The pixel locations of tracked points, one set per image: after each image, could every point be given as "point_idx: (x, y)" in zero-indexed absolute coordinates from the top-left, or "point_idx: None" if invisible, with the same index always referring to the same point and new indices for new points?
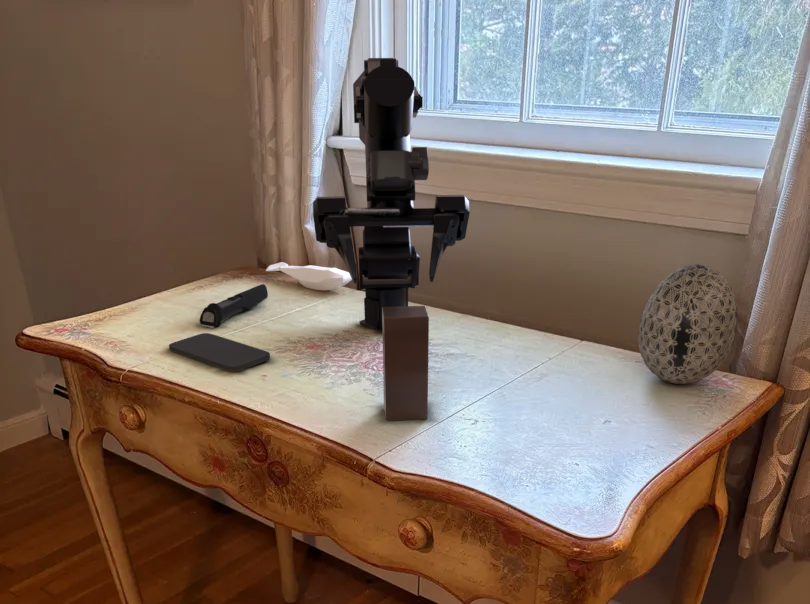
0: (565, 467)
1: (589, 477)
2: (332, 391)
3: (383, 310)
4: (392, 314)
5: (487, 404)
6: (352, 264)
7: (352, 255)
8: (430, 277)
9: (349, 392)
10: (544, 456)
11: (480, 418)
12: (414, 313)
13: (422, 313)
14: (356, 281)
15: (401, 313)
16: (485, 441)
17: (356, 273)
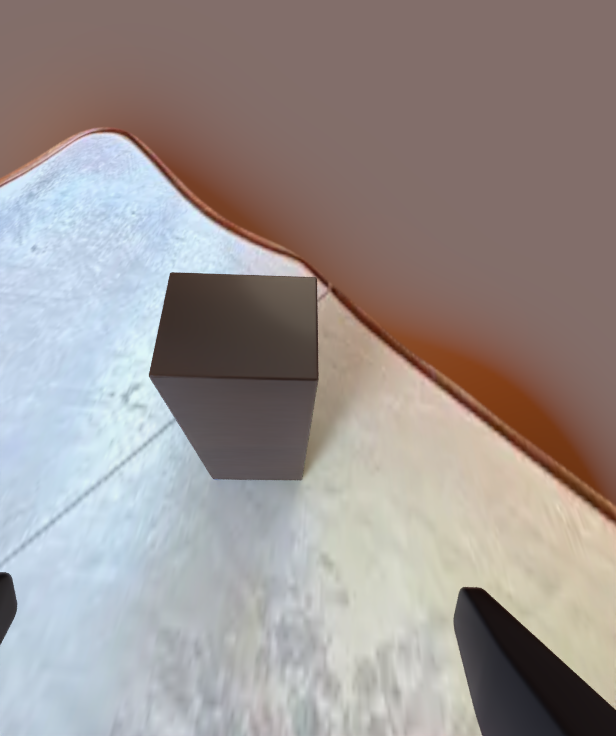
0: (55, 243)
1: (38, 219)
2: (426, 596)
3: (315, 340)
4: (287, 300)
5: (67, 474)
6: (533, 655)
7: (578, 727)
8: (8, 577)
9: (382, 584)
10: (68, 272)
11: (112, 408)
12: (210, 302)
13: (182, 299)
14: (458, 599)
15: (255, 306)
16: (140, 323)
17: (476, 607)
